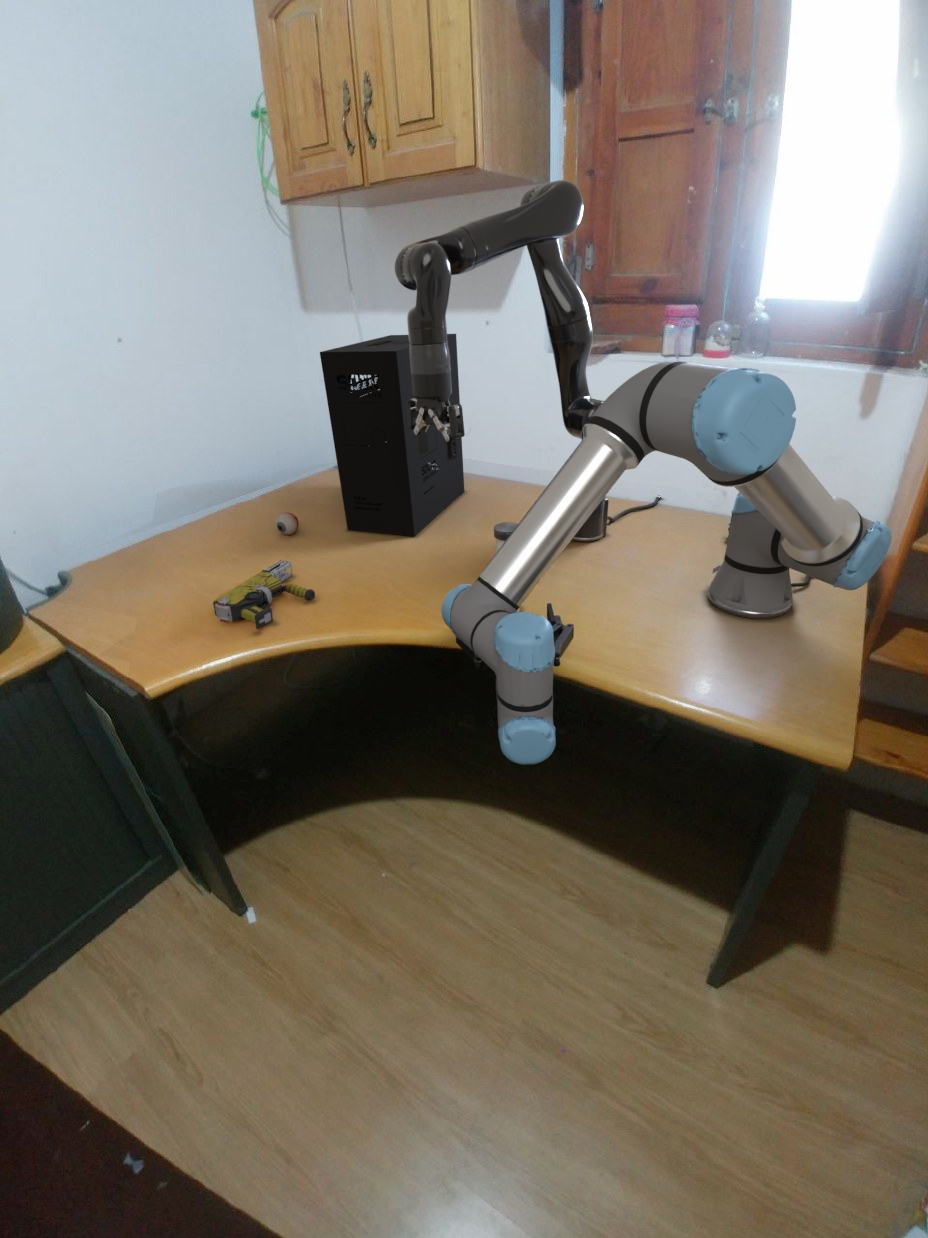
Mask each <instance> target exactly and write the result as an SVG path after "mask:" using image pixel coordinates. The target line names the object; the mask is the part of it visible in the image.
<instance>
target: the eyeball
mask: <svg viewBox="0 0 928 1238" xmlns="http://www.w3.org/2000/svg"><path fill="white" fill-rule="evenodd" d="M299 525H300V522H299V519H298V517H297V516H296V515H295V514H294V513H292V512H287V511H286V512H282V513H280V514H279V515H278V516H277V517H276V520H275V527H276V529H277V530H278V531H279V532H280V533H281V534H282V535H285V536H286V535H287V536H289V535H293V534H295V533H296V532H297V531H298V529H299Z"/></svg>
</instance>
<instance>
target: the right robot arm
mask: <svg viewBox="0 0 928 1238" xmlns="http://www.w3.org/2000/svg"><path fill="white" fill-rule="evenodd" d="M603 401H604V402H603V403H602V404H601V405H600V406H599V408H598V409H597V410H596V411H595V413H594V414H593V415H592V416H591V417H590V419H589V420H588V421H587V423H586V424H585V425H584V427H583V429H582V430H583V439H581V440H580V442H579V443H578V445H577V446H576V447H575V448H574V450H573V451H572V452H571V454H570V455H569V457H568V458H566V460H565V462H564V463H563V464H562V466H561V467H560V468H559V470H558V471H557V472H556V474H555V475H554V476H553V477H552V479H551V480H550V481H549V483H548V484H547V485H546V487H545V488H544V490H542V492H541V493H540V495H539V496H538V497H537V498H536V500H535V501H534V502H533V504H532V505H531V507H529V509H528V510H527V512H526V513H525V515H524V516H523V517H522V519H521V520H520V521H519V522H518V523H517V524H518V525H517V526H516V528H515V529H514V530H513V532H512V533H511V534H510V536H509V537H508V538H507V540H506V541H505V542H504V544H503V545H502V546H501V548H500V549H499V550H498V552H495V554H494V555H493V557H492V558H491V560H490V561H489V562H488V563H487V565H485V567H484V569H482V571H481V572H480V574H479V575H478V577H477V578H476V579H475V581H474V582H473V583H472V584H469V583H463V584H459V585H457V586H456V587H454V588H453V589H450V590H449V591H448V593H447V594H445V596H444V598H443V600H442V603H441V609H440V613H441V617H442V620H443V622H444V624H445V625H446V626H447V627H448V628H449V629H450V631H451V632H452V633H453V634H454V636H455V643H456V645H457V646H459V648H460V649H461V650H462V651H463V652H464V653H465V655H467V656H468V657H469V658H470V659H471V661H472V662H473V663H474V667H475V670H477V671H480V670H483V669H484V666H487V667H489V668H490V669H491V671H493V672H494V679H495V694H496V697H495V698H496V703H497V704H496V705H497V725H498V727H497V728H498V729H497V738H498V740H499V746H500V750H501V752H502V754H503V756H505V758H506V759H508V760H509V761H511V762H512V763H515V764H518V765H521V766H524V765H527V766H528V765H537V764H539V763H543V762H544V761H546V760H548V758H550V756H551V755H552V754H553V752H554V750H555V749H556V745H557V742H556V741H557V740H556V730H557V729H556V726H555V725H554V717H553V716H554V688H553V686H554V667H560V666H561V658H562V657H563V655H564V653H565V652H566V650H567V649H568V647H569V646H570V644H571V642H572V641H573V639H574V636H575V634H574V633H575V624H573V623H567V624H563V622H562V617H561V615H558V614H556V615H555V614H554V609H553V605H552V603H551V602H549V603H546V617H544V616H543V615H540V614H534V613H533V612H529V611H519V612H517V613H516V611H517V610H518V609H519V610H520V607H521V605H522V604H523V603H524V602H525V600H526V599H527V598H528V596H529V595H530V594H531V593H532V592H533V590H534V589H535V588H536V587H537V585H538V584H539V582H540V581H541V580H542V579H543V577H544V576H545V575H546V573H547V572H548V571H549V569H550V568H552V565H553V564H555V562H556V560H557V559H558V558H559V557H560V555H561V554H562V553H563V552H564V550H565V549H566V548H567V546H568V545H569V544H570V542H571V541H573V540H572V538H573V537H574V536H575V534H576V533H577V532H578V531H579V529H580V528H581V527H582V525H583V524H584V523H585V522H586V520H587V519H588V518H589V516H590V515H591V514H592V512H593V511H594V510H595V509H596V507H597V506H598V505H599V503H600V502H601V501H602V500H603V498H604V497H605V498H606V497H607V494H609V492H610V491H611V489H612V488H613V487H614V485H615V484H616V483H617V482H618V480H619V479H620V478H621V476H622V475H623V474H624V473H625V471H629V470H634V469H637V467H638V466H639V465H640V464H641V462H642V461H643V459H644V458H646V456H648V455H649V454H651V453H653V452H660V453H663V454H666V455H669V456H673V457H677V458H680V459H683V460H685V461H688V462H689V463H691V464H692V465H694V466H695V467H696V468H697V469H698V470H699V471H700V472H701V473H702V474H703V475H704V476H705V477H706V478H707V479H708V480H710V481H711V482H712V483H713V484H715V485H717V486H721V487H726V488H735V489H736V490H737V491H738V493H737V495H736V496H735V500H734V503H733V508H732V509H731V516H730V522H729V523H730V528H729V531H728V534H727V537H728V540H726V546H725V553H724V559H723V562H722V563H721V564H719V565H718V566H716V567H713V569H712V574H714V573H716V574H715V575H714V577H713V579H712V581H711V582H710V585H709V587H708V593H707V598H708V600H709V602H710V603H711V604H712V605H713V606H714V607H716V608H717V609H719V610H721V611H722V612H724V613H727V614H729V615H733V616H737V617H742V618H745V619H756V620H757V619H758V620H765V619H775V618H779V617H781V616H784V615H786V614H787V613H789V612H790V611H791V608H792V604H793V601H794V600H793V598H794V597H793V596H794V594H793V588H798V587H799V588H800V587H805V586H807V585H809V583H810V578H814V579H816V580H819V581H821V582H823V583H825V584H828V585H831V586H832V587H833V588H839V589H843V590H845V591H855V590H858V589H859V588H862V587H863V586H864V585H865V584H867V583H868V582H869V581H870V580H871V579H872V578H873V576H874V575H875V574H876V573H877V571H878V570H879V568H880V566H881V565H882V564H883V562H884V560H885V558H886V556H887V555H888V552H889V550H890V547H891V543H892V538H893V533H892V529H891V528H890V527H889V526H888V525H887V524H884V523H881V521H879V520H876V521H873V520H871V519H868V518H865V517H864V516H862V515H861V513H860V512H859V510H858V509H857V508H856V507H855V506H854V505H853V504H852V503H851V502H850V501H848V500H847V499H844V498H842V497H838V496H832V495H831V494H830V492H829V491H828V490H827V489H826V488H825V486H824V485H823V484H822V483H821V481H820V480H819V479H818V477H817V476H816V475H815V473H813V471H812V470H811V469H810V467H809V466H808V465H807V464H806V463H805V461H804V460H803V458H802V457H801V456H800V455H799V454H798V453H797V451H796V450H795V448H794V447H792V445H791V444H790V443H791V440H792V439H793V436H794V432H795V429H796V422H797V418H796V417H795V416H793V415H794V413H795V412H796V410H797V405H796V400H795V397H794V395H793V392H792V390H791V389H790V387H789V385H788V384H787V383H786V382H785V381H784V380H783V379H781V378H780V377H778V376H777V375H774V374H771V373H768V372H764V371H762V370H759V369H756V368H751V367H737V368H734V367H732V368H731V367H726V366H725V367H724V366H717V365H709V364H702V363H701V364H700V363H693V362H686V361H682V360H669V361H662V362H658V363H656V364H653V365H650V366H648V367H646V368H644V369H642V370H640V371H639V372H637V373H635V374H634V375H632V376H631V377H629V378H628V379H627V380H626V381H625V382H623V383H621V385H620V386H618V387H617V388H616V389H615V390H614V391H613V392H612V393H611V394H610V395H609V396H608V397H606V399H604V400H603ZM790 569H791V570H793V571H796V572H799V573H801V574H803V575H805V578H804V579H805V581H804V582H792V581H791V574H790Z"/></svg>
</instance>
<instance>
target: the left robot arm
mask: <svg viewBox="0 0 928 1238" xmlns="http://www.w3.org/2000/svg"><path fill="white" fill-rule="evenodd" d="M519 203H520V204H519V206H517V207H514V208H511V209H508V210H505V211H504V210H503V211H501V212H498V213H494V214H490V215H487V216H483V217H481V218H478V219H475V220H473V221H470V222H467V223H465V224H462V225H460V226H458V227H455V228H453V229H451V230H449V231H447V232H444V233H443V234H440V235H436V236H432V237H428V238H426V239H425V238H424V239H422V240H419V241H415V242H413V243H410V244H407V245H405V246H404V247H403V248H402V249H401V250H399V252H398V253H397V255H396V257H395V261H394V267H393V268H394V274H395V277H396V279H397V281H398V283H400V285H401V286H402V287H404V288H405V289H407V290H411V291H416V296H415V297H416V299H415V305H414V306H413V307H412V308H410V309H409V310H408V312H407V315H406V322H407V323H406V326H407V335H409V361H410V372H411V382H412V393H413V396H414V397H415V398H413V399H409V400H407V401H406V405H407V420H408V429H409V430H413V431H414V434H415V435H416V438H417V448H418V452H419V453H420V454H424V453H427V452H428V451H429V446H428V435H427V434H426V433H425V432H427V429H428V427H429V425H432V426H434V427H437V429H438V431H440V432H442V434H443V436H444V438H445V440H446V441H445V450H446V459H447V460H449V461H451V460H454V459H456V458H457V454H458V453H457V439H458V438H461V437H462V438H463V437H465V425H464V424H465V423H464V415H463V414H464V412H463V406H462V404H461V403H460V404H457V405H450V402H449V396H450V395H451V393H452V383H451V367H450V354H449V349H448V342H447V334H448V328H447V310H448V306H449V299H450V293H451V285H452V276H457V275H463V274H465V273H469V272H471V271H473V270H476V269H478V268H480V267H482V266H485V265H487V264H489V263H491V262H493V261H496V260H497V259H500V258H502V257H503V256H506V255H508V254H511V253H512V252H515V251H516V250H519V249H521V248H524V247H526V249H527V251H528V255H529V258H530V260H531V265H532V267H533V271H534V274H535V279H536V283H537V287H538V291H539V296H540V301H541V304H542V308H543V312H544V317H545V319H544V320H545V324H546V329H547V334H548V338H549V343H550V347H551V351H552V355H553V360H554V365H555V370H556V375H557V381H558V386H559V387H558V388H559V395H560V405H561V415H562V421H563V425H564V428H565V430H566V431H567V433H568V434H569V435H570V436H571V437H574V438H577V439H579V440H582V439H583V430H582V429H583V427H584V425H585V424H586V423H587V421H588V420H589V419H590V417H591V416H592V415H593V414H594V413H595V411H596V410H597V409H598V408H599V406H600V405H601V404H602V403H603V402H604V401H605V400H601V399H597V398H593V397H591V394H590V390H589V384H588V379H587V366H588V363H589V359H590V356H591V352H592V347H593V343H594V330H593V322H592V316H591V310H590V307H589V303H588V300H587V298H586V296H585V293H584V292H583V291H582V289H581V288H580V286H579V285H578V282H576V280H575V279H574V277H573V276H572V275H571V273H570V271H569V269H568V268H567V266H566V264H565V261H564V258H563V255H562V251H561V246H560V241H559V240H561V239H564V238H566V237H569V236H570V235H572V234H573V233H574V232H575V231H576V230H577V228H578V227H579V225H580V224H581V221H582V218H583V216H584V199H583V196H582V193H581V191H580V189H579V187H578V186H577V185H576V184H575V183H573V182H572V181H569V180H564V179H563V180H560V179H558V180H554V181H550V182H546V183H542V184H539V185H535V186H532V187H530V188H529V189H527V190H526V191H525V192H524V193H523V196H522V197H521V199H520V202H519ZM413 418H415V423H413ZM446 421H447V423H448V424H445V422H446ZM457 425H458V431H456V426H457ZM447 430H449V431H450V433H451V434H449V433H448V431H447ZM662 499H663V498H662V496H661V497H660V498H659V497H657V496H656V497H655V500H654V501H653V502H652V503H648V504H644V505H639V506H634V507H630V508H627V509H624V510H622V511H621V512H620V513H618V514H617V515H616V516H615V517H612V516H608V514H609V498H607V497H606V496H605V497H604V498H603V500H602V501H601V502H600V503H599V505H598V506H597V507H596V509H595V510H594V511H593V512H592V514H591V515H590V516H589V518H588V519H587V520H586V522H585V523H584V524H583V525H582V527H581V528H580V529H579V531H578V532H577V533H576V534H575V536H574V537H573V538H572V540H571V541H576V542H583V543H584V542H586V543H587V542H594V541H599V540H600V539H602V538H604V536H607V530H608V529H607V528H608V527H607V526H608V521H609V522H611V523H612V522H613V523H614V522H615V521H617V520H619V519H620V518H621V517H622V516H624V515H626V514H628V513H630V512H634V511H639V510H644V509H649V508H651V507H654V506H656V505H657V504H658V502H659V500H660V501H661V500H662Z"/></svg>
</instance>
